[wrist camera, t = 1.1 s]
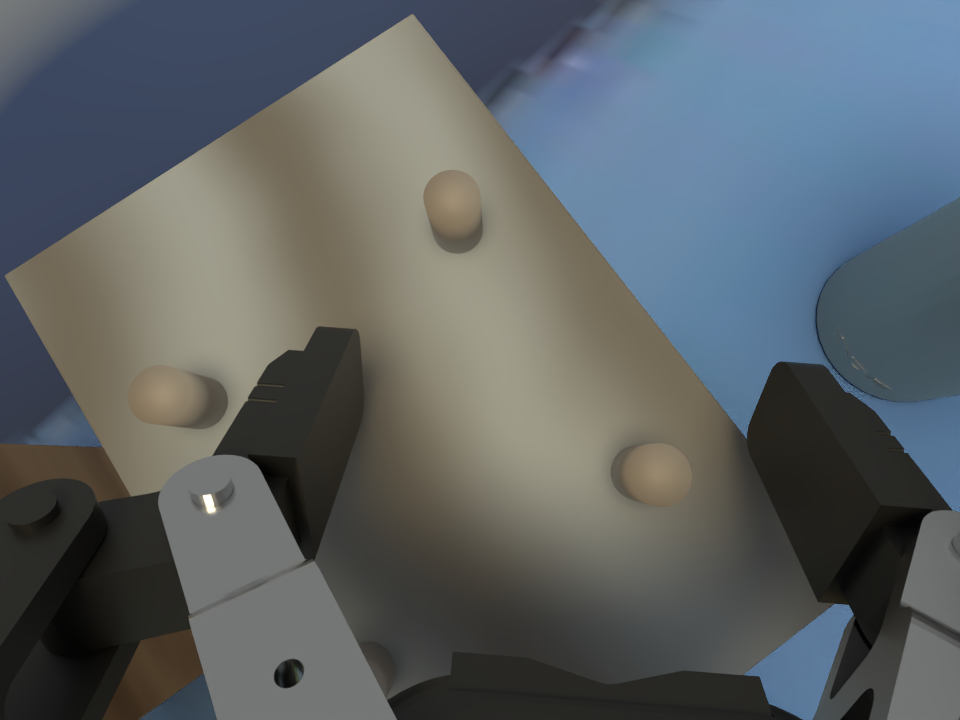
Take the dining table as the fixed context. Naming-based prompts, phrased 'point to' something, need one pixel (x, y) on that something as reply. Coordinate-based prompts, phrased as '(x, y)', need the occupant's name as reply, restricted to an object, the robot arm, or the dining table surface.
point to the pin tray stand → (432, 383)
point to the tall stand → (157, 659)
